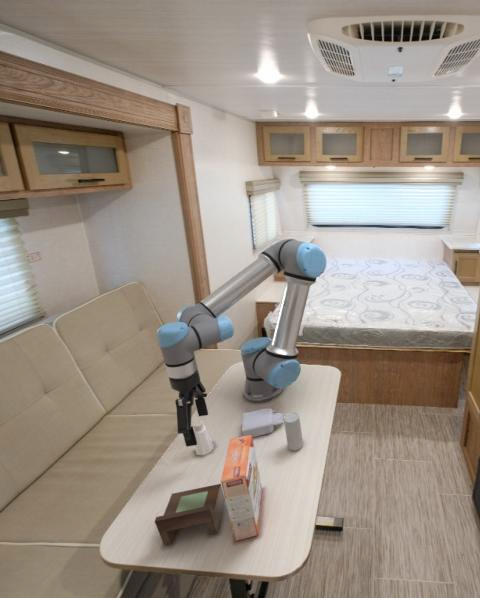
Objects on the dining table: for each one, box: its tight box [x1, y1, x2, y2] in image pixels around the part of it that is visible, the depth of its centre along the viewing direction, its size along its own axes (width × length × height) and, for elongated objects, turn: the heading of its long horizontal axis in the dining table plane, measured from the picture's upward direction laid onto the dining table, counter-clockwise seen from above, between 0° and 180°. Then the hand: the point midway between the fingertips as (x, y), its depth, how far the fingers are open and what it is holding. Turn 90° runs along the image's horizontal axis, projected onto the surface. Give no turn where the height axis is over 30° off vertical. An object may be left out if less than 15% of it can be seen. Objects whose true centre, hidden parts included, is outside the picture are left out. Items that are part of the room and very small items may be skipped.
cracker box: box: [220, 435, 263, 542], centre depth 88 cm, size 14×6×21 cm, turn 17°
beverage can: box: [283, 412, 304, 451], centre depth 112 cm, size 5×5×12 cm
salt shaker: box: [192, 420, 215, 456], centre depth 111 cm, size 5×5×11 cm
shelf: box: [154, 483, 226, 547], centre depth 89 cm, size 10×12×9 cm
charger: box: [241, 407, 288, 438], centre depth 122 cm, size 5×9×15 cm
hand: (198, 429), depth 109 cm, fingers open, 13 cm apart
